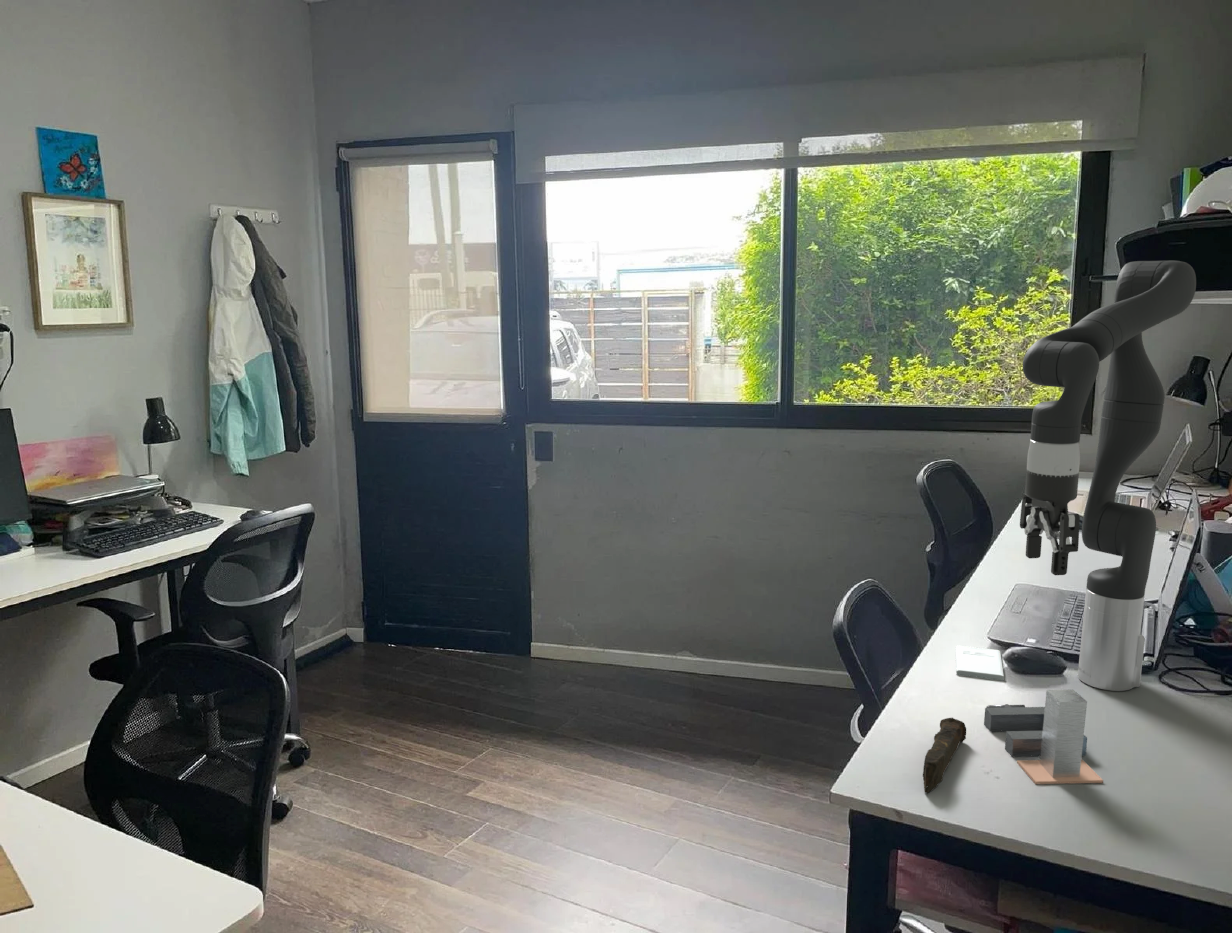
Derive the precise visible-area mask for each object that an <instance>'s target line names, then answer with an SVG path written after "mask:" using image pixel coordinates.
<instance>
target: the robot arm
mask: <svg viewBox="0 0 1232 933" xmlns="http://www.w3.org/2000/svg"><path fill="white" fill-rule="evenodd" d="M1196 289H1197V276H1196V272H1195V269H1194V268H1193V266H1191V264H1189V263H1188V262H1185V261H1182V260H1181V261H1180V260H1137V261H1136V260H1135V261H1130V262H1127V263H1125V264H1124V265H1123V267H1122V268H1121V270H1120V271H1119V273H1118V277H1117V279H1116V285H1115V290H1114V299H1113V300H1114V301H1113V303H1111V304H1108V305H1105V306H1102V307H1100V308H1097V309H1095V310H1093V311H1092V312H1090V313H1088V314H1087V315H1086V316H1084V317H1083V318H1081V319H1080V320H1079V321H1078V322H1076V323H1074V325H1073V326H1071V327H1068V328H1065V329H1061V330H1058V331H1056V332H1054V333H1051V334H1049V335H1046V336H1044V337H1041V338H1040V339H1038V340H1036V342H1034V343H1033V344H1031V345H1030V347H1029V348H1028V349H1027V351H1026V353H1025V354H1024V357H1023V360H1022V372H1023V374H1024V377H1025V378H1026V379H1027V380H1028V381H1029V382H1030V383H1032V384H1034V385H1038V386H1043V387H1054V388H1063V391H1062V393H1061V395H1060V397H1059V398H1058V400H1048V401H1042V402H1039V403H1037V404H1035V405H1034V407H1033V410H1032V413H1031V414H1032V415H1031V424H1030V426H1031V427H1030V439H1029V440H1030V441H1029V447H1028V451H1027V459H1026V474H1025V475H1026V476H1025V488H1024V494H1022V496H1021V497H1022V498H1021V508H1020V516H1019V527H1020V528H1021V529H1024V530H1023V531H1024V535H1025V536H1026V543H1025V557H1026V558H1028V559H1039V558H1040V557H1041V554H1042V553H1041V552H1042V541H1043V540H1042V539H1043V536H1041V535H1042V534H1043V533H1044V532H1045V536H1046V539H1047V540H1049V541H1050V543H1051V544H1050V545H1051V549H1052V552H1051V554H1052V555H1051V564H1050V565H1051V567H1050V568H1051V569H1050V572H1051V574H1052V575H1054V576H1065V575H1066V574H1068V564H1069V563H1068V562H1069V554H1070V553H1078V551H1079V540H1080V539H1079V538H1080V537H1079V536H1080V521H1081V518H1080V515H1079V513H1069V507H1068V504H1069V503H1070V502H1072V501H1074V500H1076V499H1077V496H1078V491H1079V488H1078V487H1079V476H1080V467H1081V466H1080V464H1081V448H1080V447H1081V446H1080V441H1081V430H1082V418H1083V415H1084V411H1085V407H1086V405H1087V401H1088V400H1089V396H1090V393H1091V391H1092V388H1093V386H1094V383H1095V380H1096V378H1097V376H1098V374H1099V370H1100V369H1099V368H1100V362H1102V361H1103V360H1104V359H1106V358H1107V357H1108V356H1110V359H1109V365H1108V373H1107V378H1106V385H1105V391H1104V397H1103V401H1102V402H1103V403H1102V409H1101V416H1100V423H1099V424H1100V425H1099V426H1100V427H1099V436H1098V443H1097V444H1098V445H1097V452H1096V457H1095V464H1094V468H1093V473H1092V479H1091V483H1090V486H1089V491H1088V495H1087V499H1086V503H1085V506H1084V507H1085V508H1084V512H1083V518H1082V524H1081V539H1082V543H1083V545H1084V546H1085V547H1086V548H1087V549H1089V550H1092V551H1097V552H1101V553H1105V554H1109V555H1113V556H1118V557H1122V559H1121V561H1120V562H1121V563H1120V565H1119V566H1116V567H1107V568H1099V569H1094V570H1092V571H1090V572H1089V573H1088V575H1087V580H1086V588H1085V596H1084V597H1085V598H1084V607H1083V608H1084V609H1083V616H1082V617H1083V619H1082V629H1081V638H1080V639H1081V640H1080V648H1079V649H1080V650H1079V657H1078V658H1079V659H1078V666H1077V667H1078V668H1077V670H1078V671H1077V678H1078V679H1079V680H1080V681H1082V682H1083V683H1084V684H1086V685H1088V686H1091V687H1094V688H1096V689H1100V690H1103V691H1104V690H1105V691H1112V692H1124V691H1129V690H1132V689H1134V688H1140V686H1141V678H1142V677H1141V676H1142V667H1143V659H1144V652H1145V642H1146V638H1145V636H1144V635H1142V633H1141V632H1142V631H1141V630H1142V621H1143V612H1144V602H1145V593H1146V588H1147V583H1148V579H1149V574H1150V570H1151V569H1150V568H1151V561H1152V555H1153V548H1154V545H1155V539H1156V533H1157V520H1156V516H1155V514H1154V512H1153V510H1151V509H1150V508H1148V507H1144V506H1139V505H1132V504H1127V503H1120V502H1116V501H1115V500H1116V494H1117V490H1118V487H1119V485H1120V482H1121V480H1122V478H1123V477H1124V475H1125V474H1126V472H1127V471H1128V469H1129V468H1130V467H1131V466H1132V465H1133V464H1134V462H1136V460H1137V459H1138V458H1139V457H1140V456H1142V454H1144V452H1145V451H1146V450H1147V449H1148V448H1149V447H1150V446H1151V445H1152V444H1153V442H1154V440H1155V439H1156V438H1157V436H1158V434H1159V433H1160V430H1161V425H1162V419H1163V412H1164V404H1165V398H1166V397H1165V394H1166V393H1165V390H1164V386H1163V384H1162V382H1161V379H1160V377H1159V376H1158V374H1157V372H1156V369H1155V367H1154V366H1153V364H1152V362H1151V360H1150V359H1149V356H1148V354H1147V351H1146V349H1145V346H1144V343H1143V332H1145V331H1147V330H1149V329H1151V328H1153V327H1155V326H1156V325H1158V324H1159V325H1160V324H1161V323H1162V322H1165V321H1167V320H1169V319H1171V318H1173V317H1176V316H1178V315H1180V314H1182V313H1183V312H1184V311H1185V310H1187V309H1188V307H1190V305H1191V303H1192V302H1193V300H1194V297H1195V294H1196ZM1070 538H1071V541H1070Z"/></svg>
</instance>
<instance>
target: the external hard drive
mask: <svg viewBox="0 0 1232 933" xmlns="http://www.w3.org/2000/svg"><path fill="white" fill-rule="evenodd" d="M955 669H956V670H955V672H956V676H964V677H969V678H970V677H972V678H977V679H978V678H979V679H986V680H987V679H988V680H994V681H995V680H997V681H1004V680H1005V678H1004V676H1005V675H1004V669H1003V661H1002V656H1001V651H1000V650H998V649H993V648H992V649H991V648H982V647H975V646H974V647H973V646H966V645H956V646H955Z"/></svg>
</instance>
